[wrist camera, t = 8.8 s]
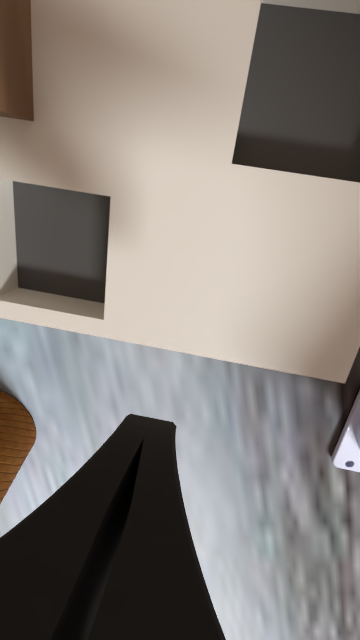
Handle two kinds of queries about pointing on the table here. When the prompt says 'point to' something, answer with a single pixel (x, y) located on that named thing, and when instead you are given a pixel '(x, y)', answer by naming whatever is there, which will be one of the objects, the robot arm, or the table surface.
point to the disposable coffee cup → (13, 439)
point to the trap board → (190, 179)
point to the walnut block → (16, 60)
